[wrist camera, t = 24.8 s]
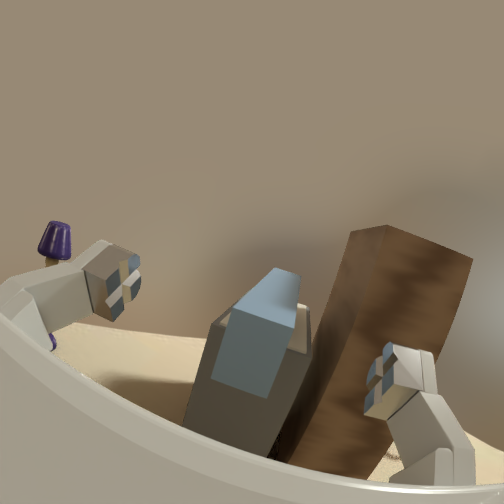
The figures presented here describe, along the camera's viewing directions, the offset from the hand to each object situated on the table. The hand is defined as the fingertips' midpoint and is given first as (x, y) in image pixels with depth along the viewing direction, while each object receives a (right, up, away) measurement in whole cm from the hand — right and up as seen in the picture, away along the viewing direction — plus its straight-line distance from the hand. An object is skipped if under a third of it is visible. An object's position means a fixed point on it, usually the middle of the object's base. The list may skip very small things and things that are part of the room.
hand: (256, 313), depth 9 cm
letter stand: (-2, -19, +24) cm, 30 cm away
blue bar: (+1, -5, +15) cm, 16 cm away
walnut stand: (+7, -22, +22) cm, 32 cm away
